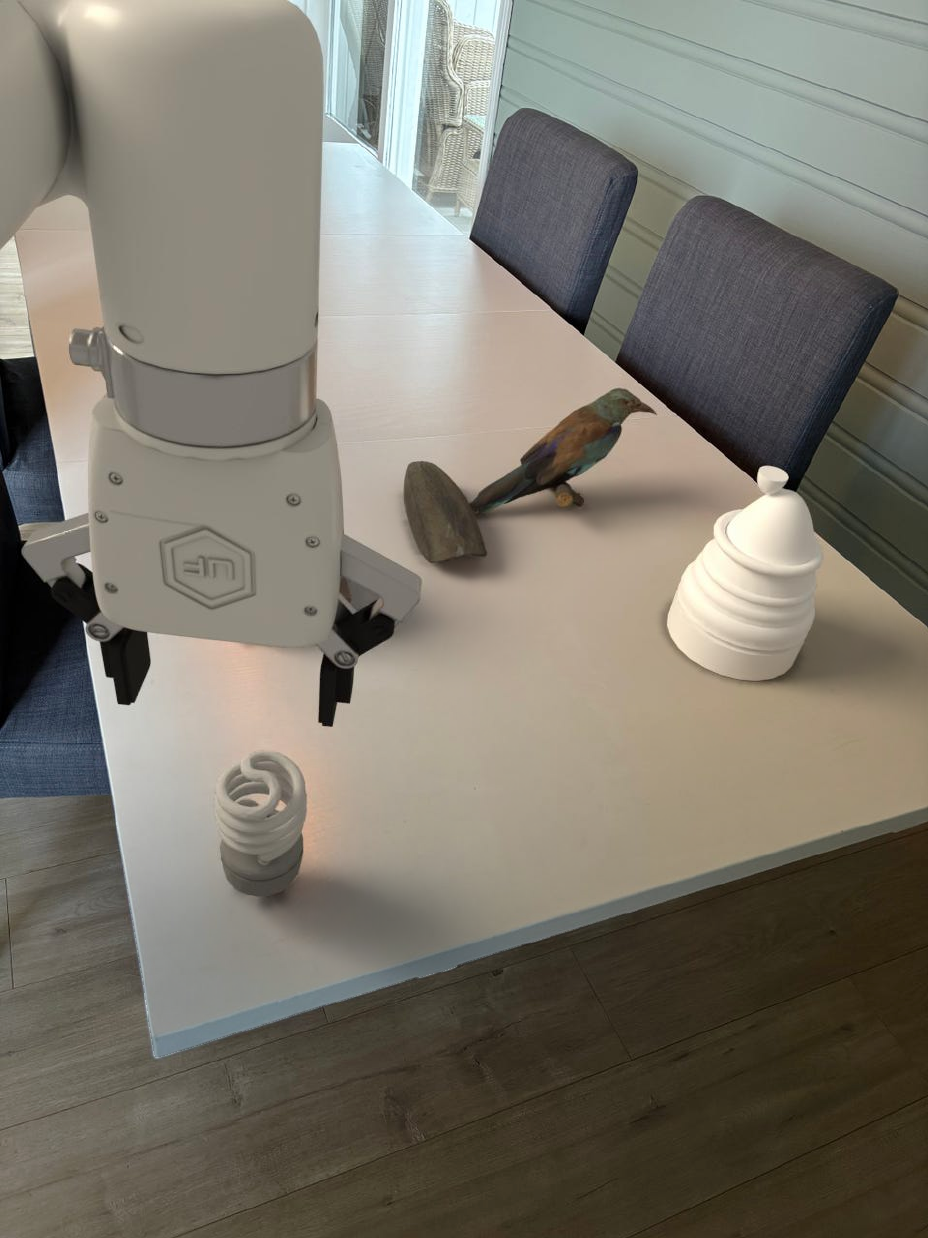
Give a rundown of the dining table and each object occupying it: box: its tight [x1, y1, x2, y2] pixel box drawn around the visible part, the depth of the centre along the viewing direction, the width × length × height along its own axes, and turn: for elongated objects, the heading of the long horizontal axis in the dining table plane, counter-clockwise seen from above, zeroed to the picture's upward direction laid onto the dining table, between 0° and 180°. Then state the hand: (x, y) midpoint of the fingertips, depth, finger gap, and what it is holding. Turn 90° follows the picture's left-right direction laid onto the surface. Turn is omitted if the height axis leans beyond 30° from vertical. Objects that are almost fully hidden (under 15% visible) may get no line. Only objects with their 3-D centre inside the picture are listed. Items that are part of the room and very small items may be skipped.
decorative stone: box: [403, 460, 488, 564], centre depth 97 cm, size 17×6×4 cm, turn 17°
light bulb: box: [213, 749, 308, 898], centre depth 59 cm, size 6×6×12 cm
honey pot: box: [666, 465, 825, 682], centre depth 85 cm, size 13×13×18 cm
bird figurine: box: [469, 387, 658, 516], centre depth 101 cm, size 13×10×20 cm
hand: (233, 695), depth 45 cm, fingers open, 9 cm apart
